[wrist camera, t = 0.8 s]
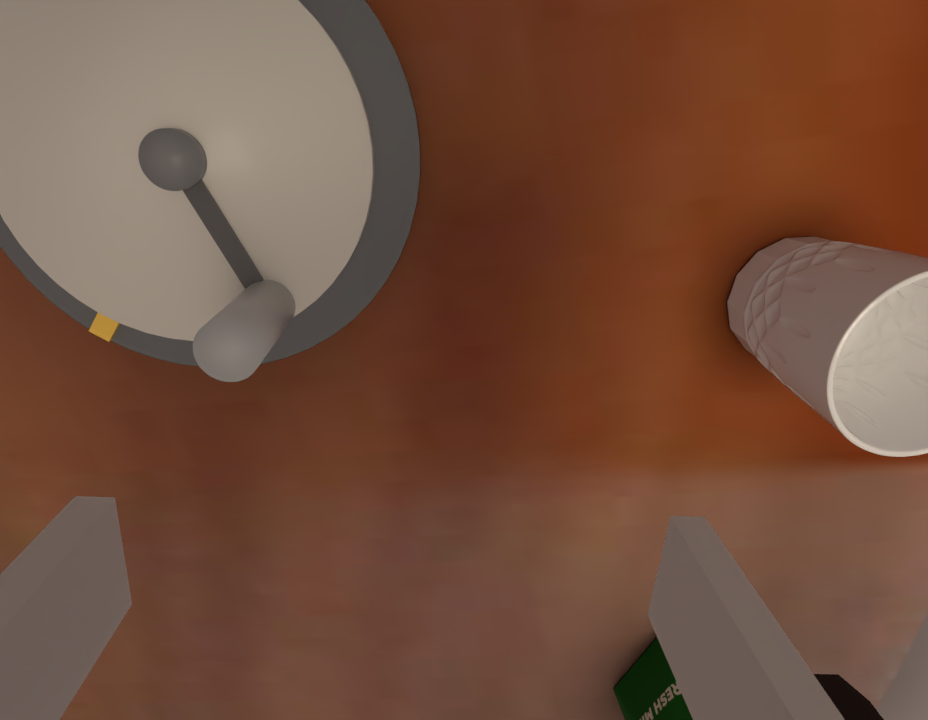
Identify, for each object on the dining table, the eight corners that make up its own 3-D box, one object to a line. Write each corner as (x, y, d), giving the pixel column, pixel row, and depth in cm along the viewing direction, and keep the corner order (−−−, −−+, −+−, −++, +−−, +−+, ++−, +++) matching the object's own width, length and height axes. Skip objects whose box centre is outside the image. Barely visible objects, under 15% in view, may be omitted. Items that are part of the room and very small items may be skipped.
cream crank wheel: (-92, 59, 25) (-301, 33, 18) (246, -142, 23) (164, -261, 16) (150, 386, 30) (65, 464, 23) (437, 245, 28) (439, 285, 21)
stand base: (-68, -129, 24) (-116, -154, 22) (433, -74, 26) (433, -92, 23) (24, 342, 31) (-7, 358, 29) (410, 363, 33) (409, 380, 31)
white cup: (707, 369, 34) (811, 463, 24) (723, 227, 31) (849, 272, 22) (845, 362, 34) (1000, 451, 25) (874, 220, 31) (1062, 261, 22)
